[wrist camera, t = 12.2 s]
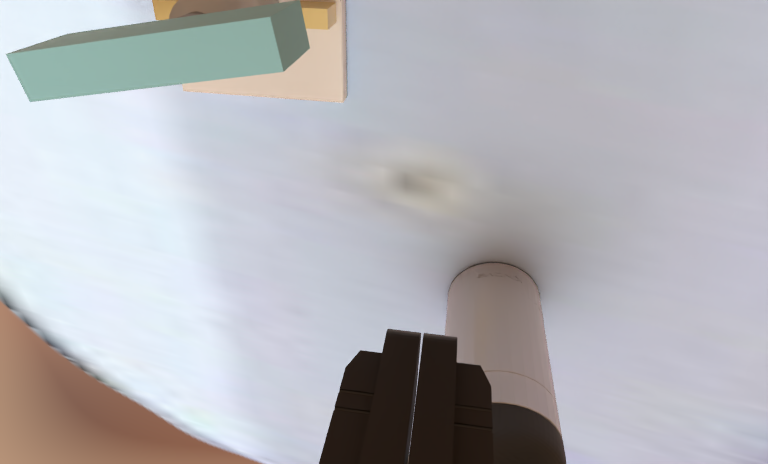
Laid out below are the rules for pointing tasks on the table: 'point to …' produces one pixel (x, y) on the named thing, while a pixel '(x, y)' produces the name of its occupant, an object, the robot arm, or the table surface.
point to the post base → (306, 75)
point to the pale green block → (164, 52)
